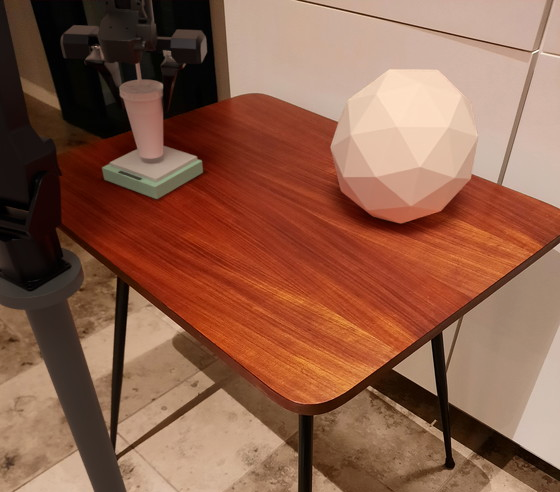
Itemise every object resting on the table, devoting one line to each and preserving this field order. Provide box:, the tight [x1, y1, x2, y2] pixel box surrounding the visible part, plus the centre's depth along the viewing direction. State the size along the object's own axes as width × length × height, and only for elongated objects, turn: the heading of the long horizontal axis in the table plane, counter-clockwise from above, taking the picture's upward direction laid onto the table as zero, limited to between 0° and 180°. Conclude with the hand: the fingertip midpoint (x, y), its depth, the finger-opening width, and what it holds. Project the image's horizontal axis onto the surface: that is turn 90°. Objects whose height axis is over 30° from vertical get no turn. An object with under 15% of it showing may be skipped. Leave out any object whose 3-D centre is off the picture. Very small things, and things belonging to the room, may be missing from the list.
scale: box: [101, 145, 204, 200], centre depth 88 cm, size 11×11×3 cm
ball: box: [330, 68, 479, 224], centre depth 76 cm, size 19×20×20 cm
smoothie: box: [119, 62, 164, 159], centre depth 81 cm, size 6×6×14 cm
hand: (144, 110), depth 82 cm, fingers closed on smoothie, 6 cm apart
